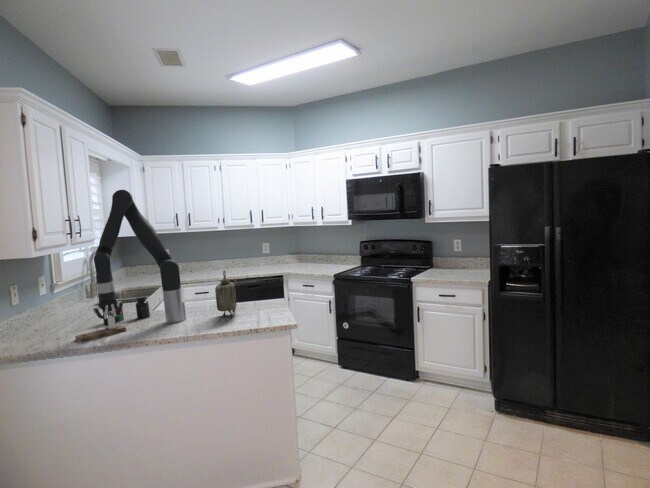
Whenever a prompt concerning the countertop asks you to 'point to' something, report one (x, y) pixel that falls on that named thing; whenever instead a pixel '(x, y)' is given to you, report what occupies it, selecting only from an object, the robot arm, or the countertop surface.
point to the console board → (99, 334)
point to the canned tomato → (120, 316)
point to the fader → (111, 323)
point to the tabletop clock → (226, 296)
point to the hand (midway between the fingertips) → (110, 324)
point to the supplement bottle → (142, 308)
